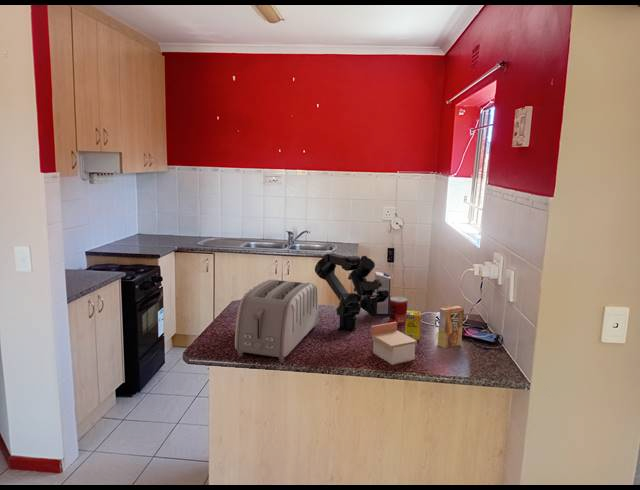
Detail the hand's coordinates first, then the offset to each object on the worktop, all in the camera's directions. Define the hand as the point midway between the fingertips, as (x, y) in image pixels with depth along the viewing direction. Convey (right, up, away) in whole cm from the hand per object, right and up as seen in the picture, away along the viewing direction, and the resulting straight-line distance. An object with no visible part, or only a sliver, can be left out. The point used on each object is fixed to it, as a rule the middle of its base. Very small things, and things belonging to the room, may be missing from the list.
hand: (374, 316), depth 185 cm
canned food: (+14, -7, +28) cm, 32 cm away
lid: (+6, -8, -10) cm, 14 cm away
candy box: (+30, -12, +3) cm, 32 cm away
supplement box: (+16, -10, +9) cm, 21 cm away
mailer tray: (+6, -13, -9) cm, 17 cm away
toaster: (-38, -10, +4) cm, 39 cm away
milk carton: (+8, -5, +40) cm, 41 cm away
